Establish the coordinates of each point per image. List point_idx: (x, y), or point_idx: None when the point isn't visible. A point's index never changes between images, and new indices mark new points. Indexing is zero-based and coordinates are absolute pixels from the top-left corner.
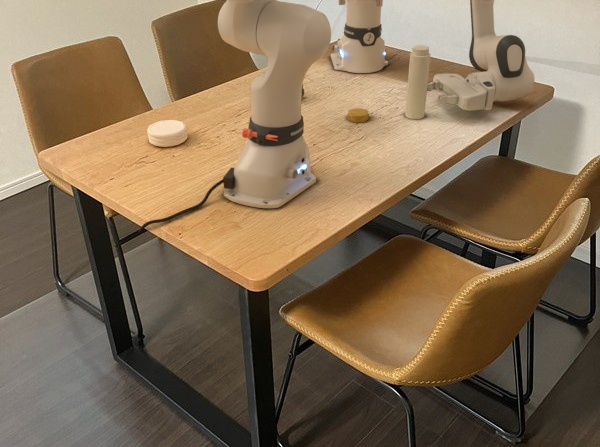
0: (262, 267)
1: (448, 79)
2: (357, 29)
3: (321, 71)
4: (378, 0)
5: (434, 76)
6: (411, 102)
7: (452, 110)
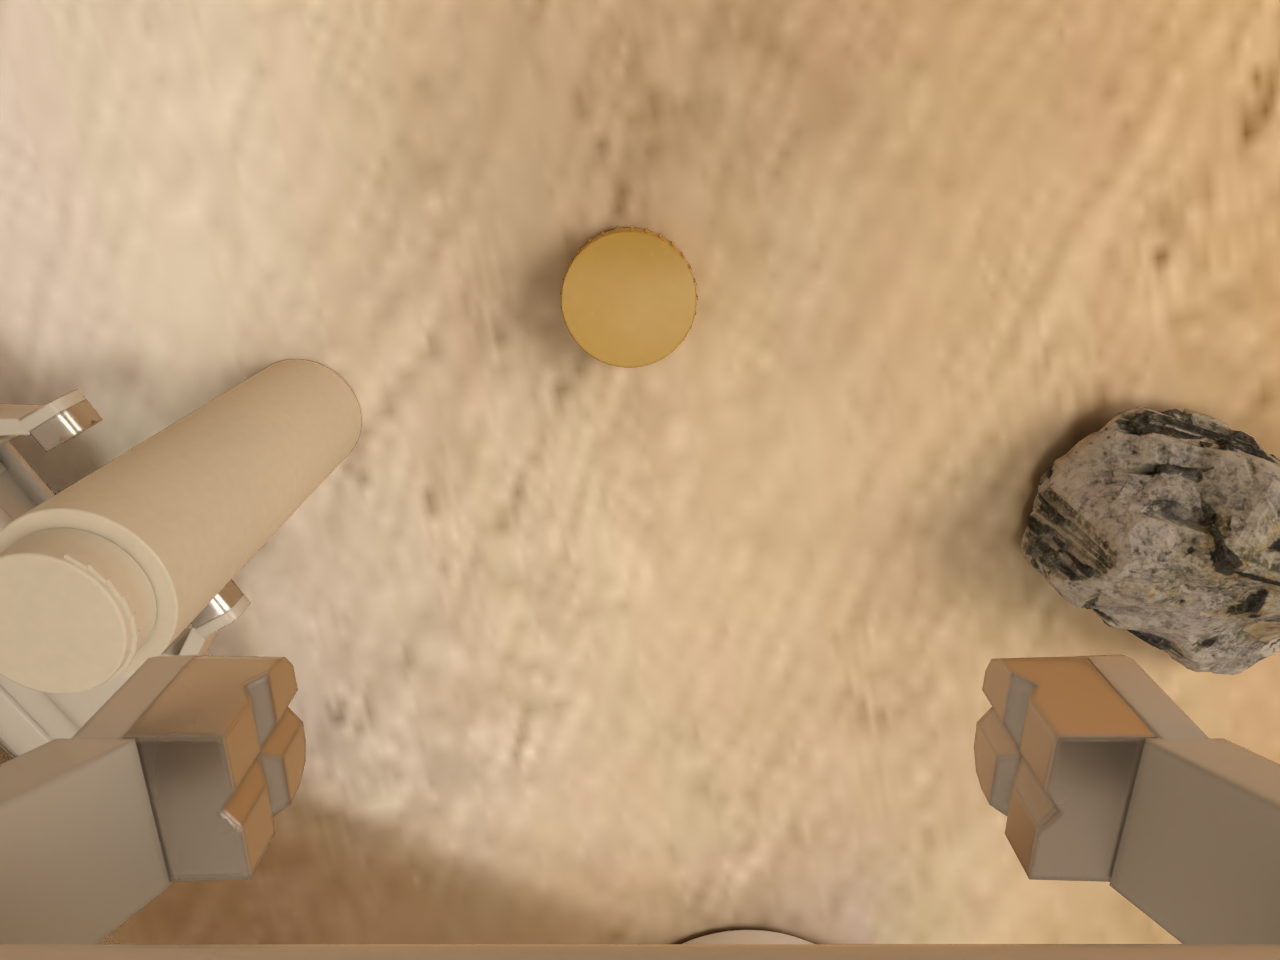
0: None
1: None
2: None
3: (954, 923)
4: (173, 722)
5: None
6: (280, 391)
7: None
